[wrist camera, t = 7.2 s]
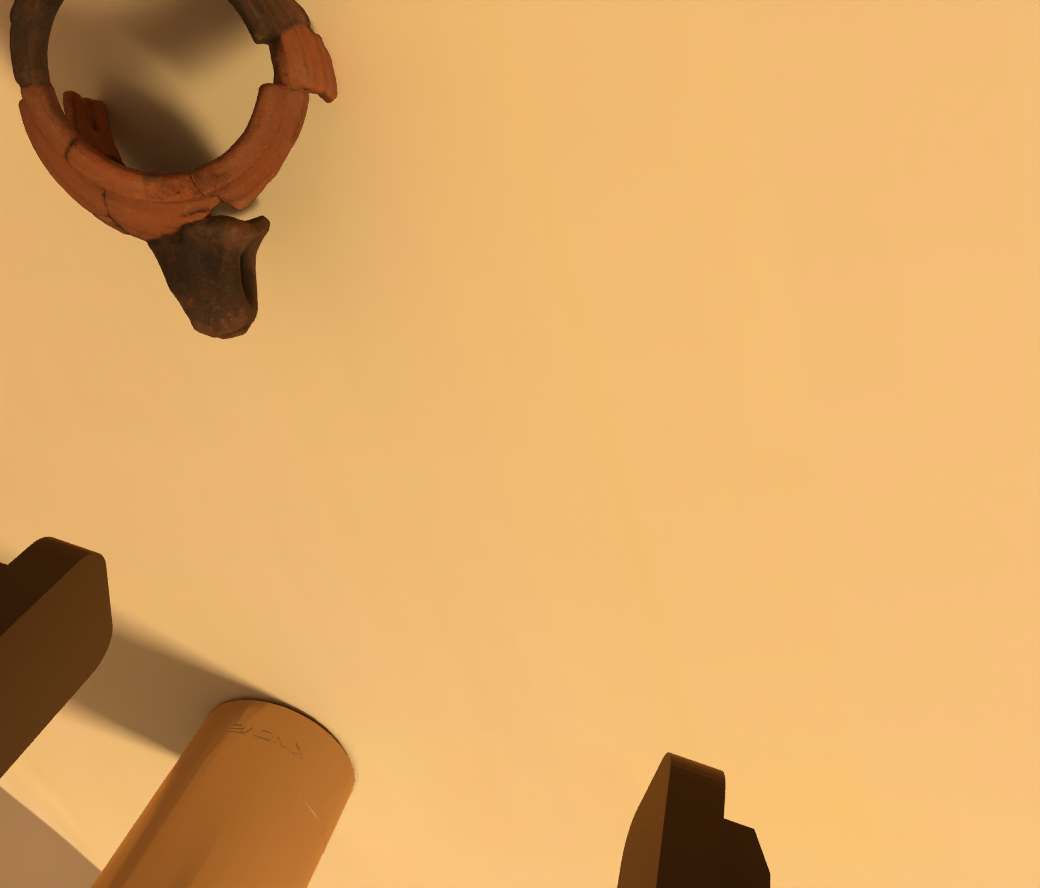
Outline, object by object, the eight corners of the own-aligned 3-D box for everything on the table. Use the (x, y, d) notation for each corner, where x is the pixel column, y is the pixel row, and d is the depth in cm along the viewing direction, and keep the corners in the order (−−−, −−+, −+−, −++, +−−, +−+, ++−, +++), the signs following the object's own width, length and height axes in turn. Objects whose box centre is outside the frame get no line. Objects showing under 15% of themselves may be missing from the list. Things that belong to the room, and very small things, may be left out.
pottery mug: (38, 27, 30) (-96, -68, 22) (301, -40, 31) (266, -155, 23) (160, 357, 32) (81, 381, 24) (401, 289, 33) (401, 290, 25)
